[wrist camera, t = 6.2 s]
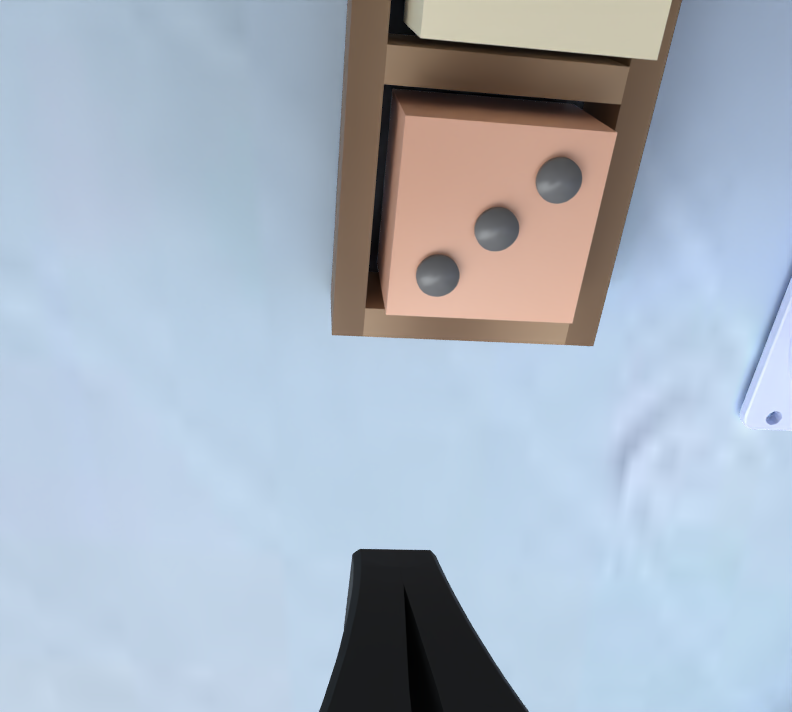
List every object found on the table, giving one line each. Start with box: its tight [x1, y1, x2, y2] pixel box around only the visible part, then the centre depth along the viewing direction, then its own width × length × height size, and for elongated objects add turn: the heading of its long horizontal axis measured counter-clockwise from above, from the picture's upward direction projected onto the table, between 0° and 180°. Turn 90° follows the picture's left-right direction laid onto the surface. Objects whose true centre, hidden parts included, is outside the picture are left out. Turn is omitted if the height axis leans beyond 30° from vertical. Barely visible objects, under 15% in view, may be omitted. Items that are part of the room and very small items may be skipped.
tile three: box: [377, 88, 617, 323], centre depth 18 cm, size 5×5×3 cm
